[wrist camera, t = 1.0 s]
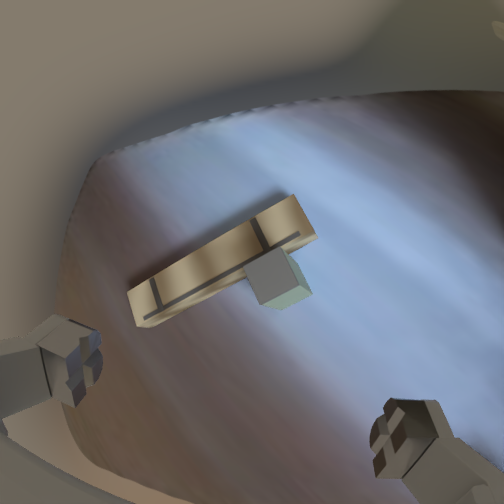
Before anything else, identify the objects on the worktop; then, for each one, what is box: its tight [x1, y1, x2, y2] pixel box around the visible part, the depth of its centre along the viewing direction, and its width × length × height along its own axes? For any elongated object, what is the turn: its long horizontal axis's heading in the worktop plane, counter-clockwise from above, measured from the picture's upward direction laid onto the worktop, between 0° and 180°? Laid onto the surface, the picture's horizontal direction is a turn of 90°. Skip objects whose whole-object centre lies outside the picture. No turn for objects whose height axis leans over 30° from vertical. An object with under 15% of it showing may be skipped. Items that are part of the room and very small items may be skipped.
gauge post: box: [243, 246, 313, 310], centre depth 33 cm, size 4×4×8 cm
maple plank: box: [127, 194, 318, 328], centre depth 39 cm, size 25×5×3 cm, turn 116°
